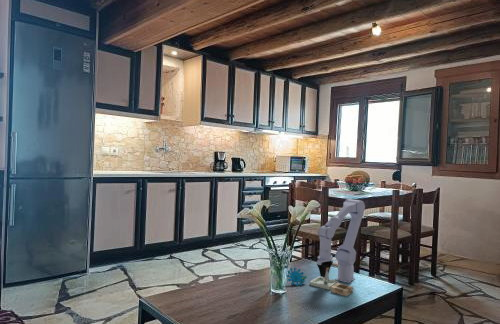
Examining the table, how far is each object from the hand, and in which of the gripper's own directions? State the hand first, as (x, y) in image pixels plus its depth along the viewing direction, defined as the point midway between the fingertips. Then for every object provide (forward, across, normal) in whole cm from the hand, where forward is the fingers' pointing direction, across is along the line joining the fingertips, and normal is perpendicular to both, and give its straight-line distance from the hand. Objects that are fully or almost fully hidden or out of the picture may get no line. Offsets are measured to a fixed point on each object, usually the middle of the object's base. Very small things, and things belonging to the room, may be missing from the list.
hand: (324, 275), depth 182 cm
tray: (+5, 0, 0) cm, 5 cm away
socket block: (+5, +3, +11) cm, 12 cm away
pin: (+3, 0, +1) cm, 4 cm away
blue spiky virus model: (+5, +9, -11) cm, 15 cm away
